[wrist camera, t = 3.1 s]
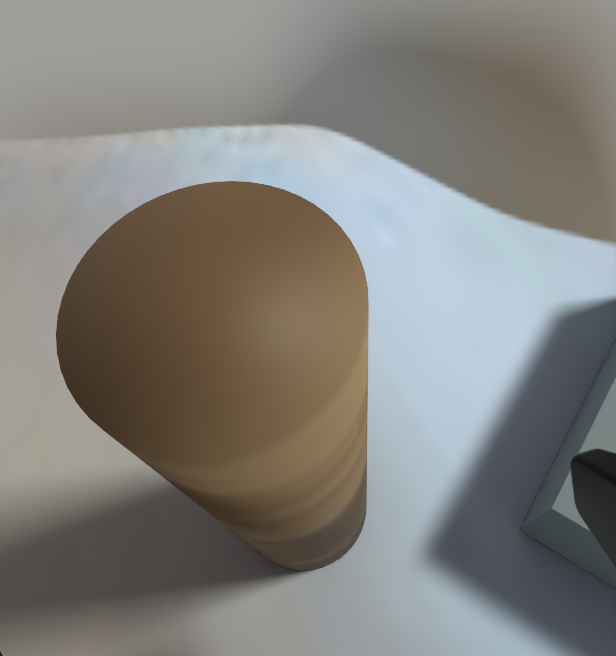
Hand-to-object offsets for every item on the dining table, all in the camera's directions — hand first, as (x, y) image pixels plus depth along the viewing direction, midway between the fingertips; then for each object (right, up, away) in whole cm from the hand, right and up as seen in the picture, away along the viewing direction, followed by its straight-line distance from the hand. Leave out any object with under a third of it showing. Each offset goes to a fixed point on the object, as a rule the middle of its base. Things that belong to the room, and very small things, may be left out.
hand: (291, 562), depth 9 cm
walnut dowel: (0, -2, +10) cm, 10 cm away
